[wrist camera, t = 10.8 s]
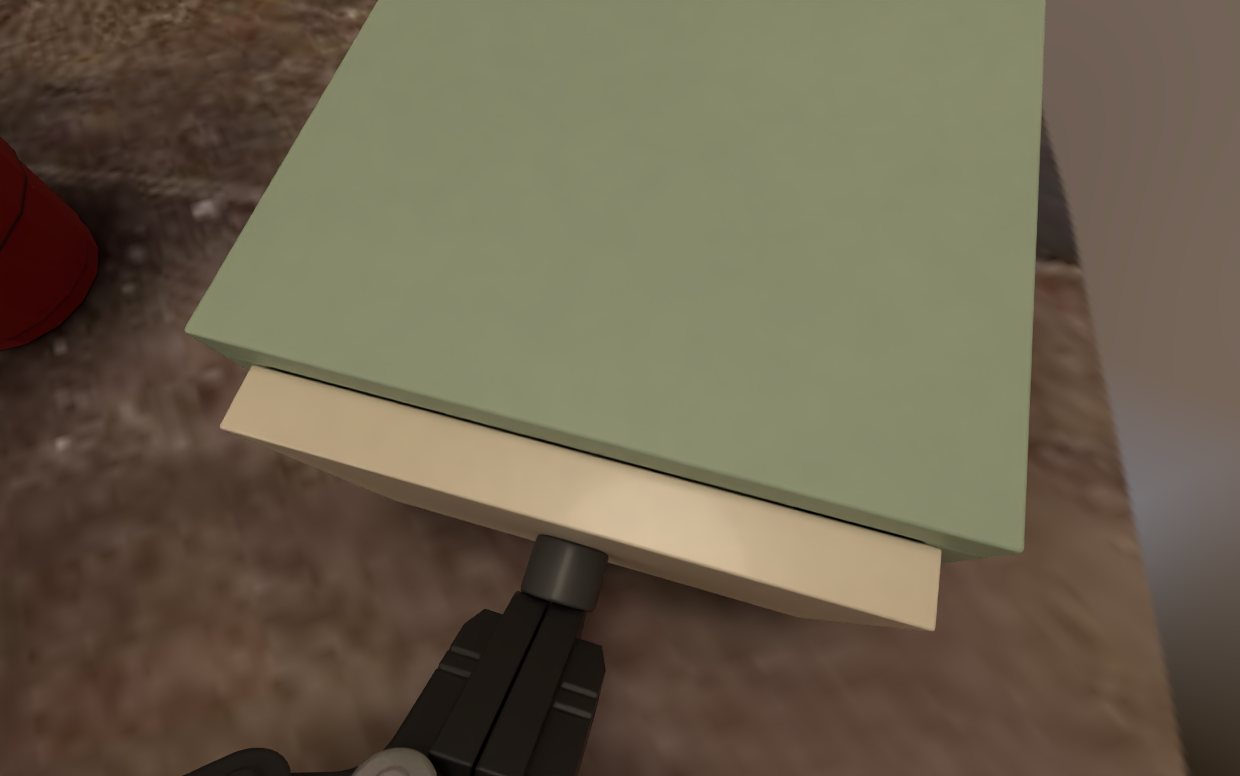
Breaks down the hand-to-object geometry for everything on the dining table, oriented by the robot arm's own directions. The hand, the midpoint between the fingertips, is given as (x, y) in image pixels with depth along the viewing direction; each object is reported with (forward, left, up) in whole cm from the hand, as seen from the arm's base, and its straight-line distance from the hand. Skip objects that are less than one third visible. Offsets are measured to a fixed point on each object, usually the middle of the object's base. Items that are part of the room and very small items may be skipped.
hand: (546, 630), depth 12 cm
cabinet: (+6, +9, -4) cm, 11 cm away
